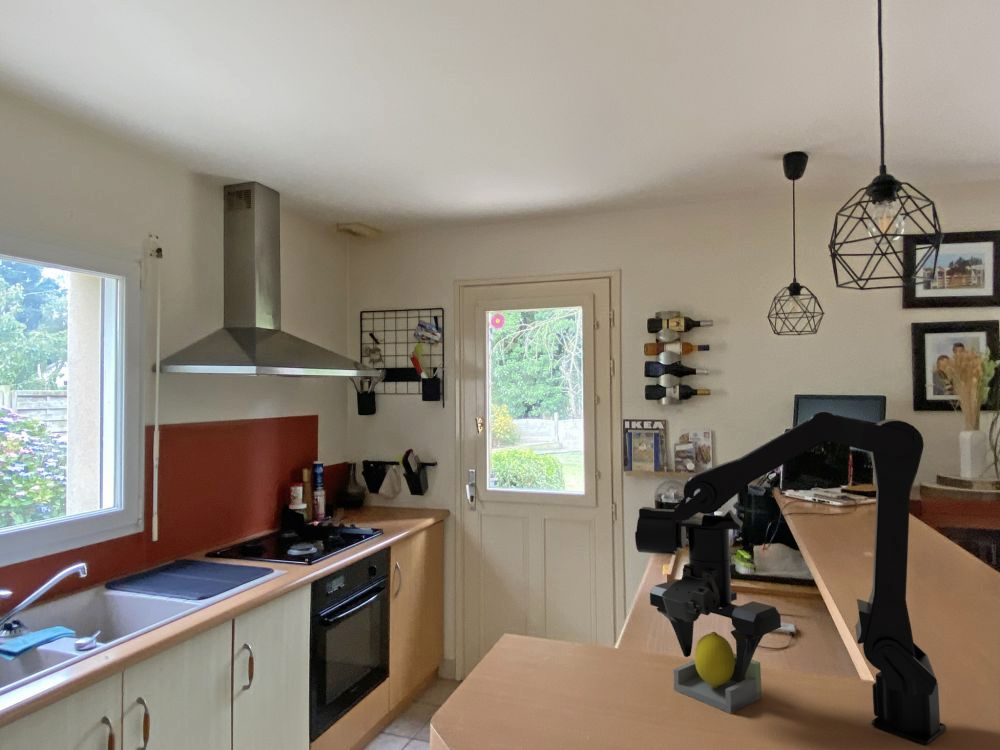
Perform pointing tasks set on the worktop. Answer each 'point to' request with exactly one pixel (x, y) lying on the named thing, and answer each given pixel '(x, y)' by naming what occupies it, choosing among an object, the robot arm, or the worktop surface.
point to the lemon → (714, 659)
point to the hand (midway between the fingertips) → (713, 665)
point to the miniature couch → (721, 687)
